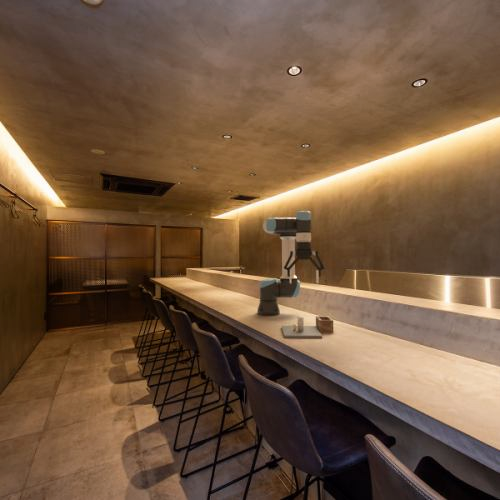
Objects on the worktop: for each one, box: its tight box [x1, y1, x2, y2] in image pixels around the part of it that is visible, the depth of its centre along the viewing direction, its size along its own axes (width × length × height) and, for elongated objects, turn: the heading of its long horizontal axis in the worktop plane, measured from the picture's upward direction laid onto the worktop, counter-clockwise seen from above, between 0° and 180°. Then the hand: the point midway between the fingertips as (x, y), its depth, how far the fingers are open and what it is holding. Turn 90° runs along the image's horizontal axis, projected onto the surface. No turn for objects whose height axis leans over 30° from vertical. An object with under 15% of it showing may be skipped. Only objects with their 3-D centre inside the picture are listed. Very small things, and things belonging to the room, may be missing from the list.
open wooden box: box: [315, 315, 334, 333], centre depth 154 cm, size 10×7×6 cm
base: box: [281, 316, 323, 339], centre depth 148 cm, size 18×18×8 cm
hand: (303, 283), depth 148 cm, fingers open, 13 cm apart
